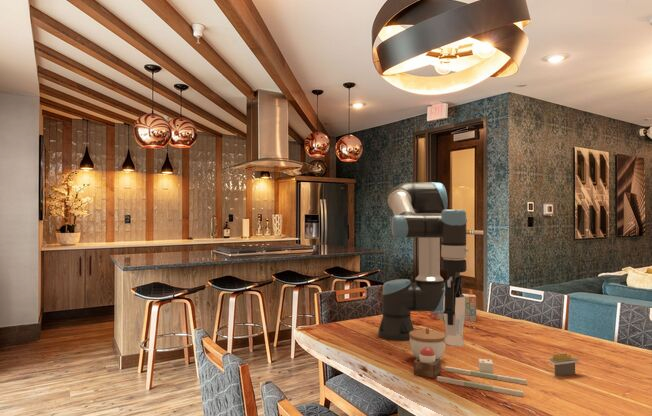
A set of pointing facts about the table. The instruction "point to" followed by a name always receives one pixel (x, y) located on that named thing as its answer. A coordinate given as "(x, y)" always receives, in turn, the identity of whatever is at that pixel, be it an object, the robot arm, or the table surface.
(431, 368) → the button housing
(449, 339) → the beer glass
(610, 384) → the table surface
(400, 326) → the robot arm
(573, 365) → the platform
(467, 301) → the stack of blocks
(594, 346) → the table surface
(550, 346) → the table surface
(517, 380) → the track
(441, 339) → the lidded bowl
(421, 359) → the dome button
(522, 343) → the table surface
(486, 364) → the die
